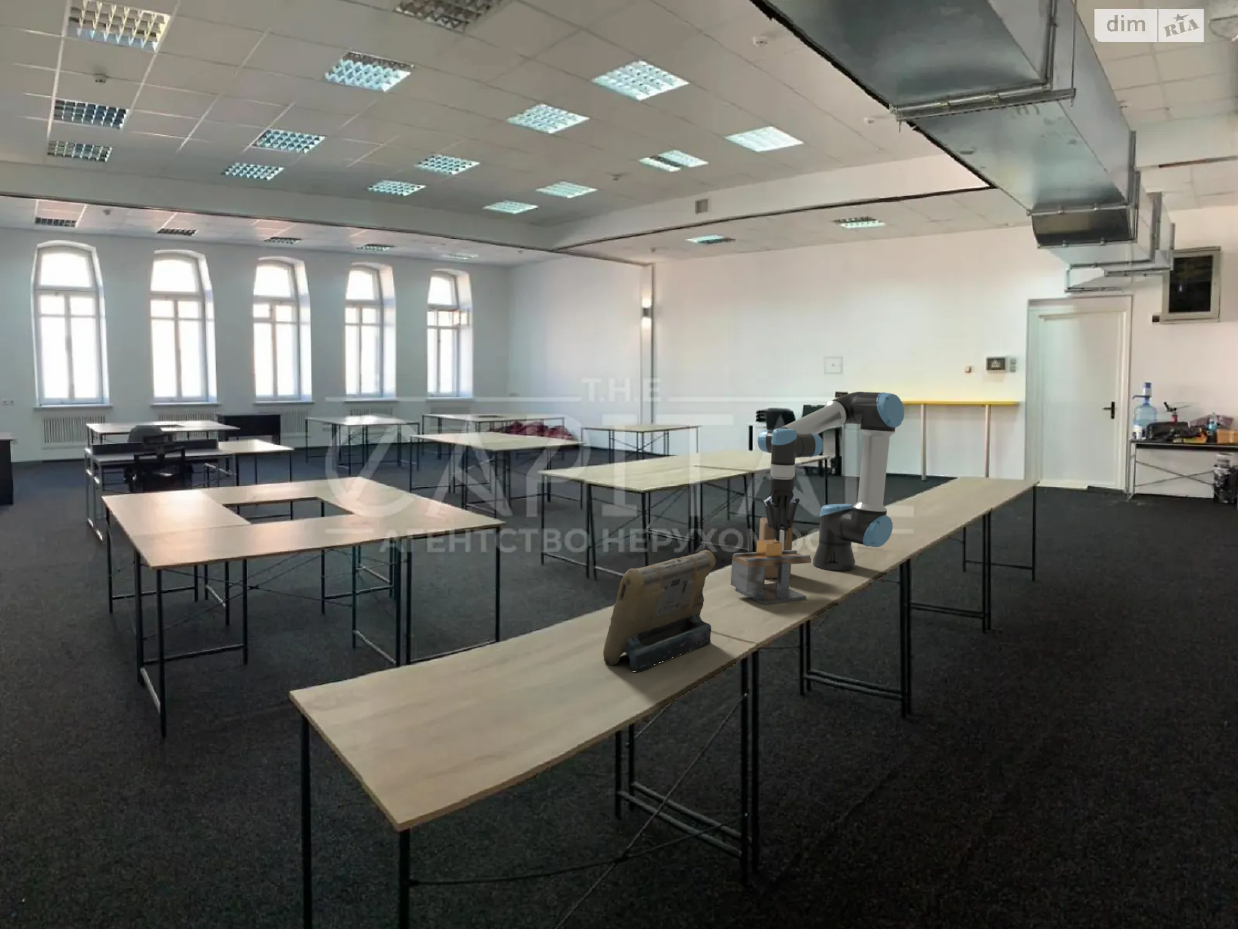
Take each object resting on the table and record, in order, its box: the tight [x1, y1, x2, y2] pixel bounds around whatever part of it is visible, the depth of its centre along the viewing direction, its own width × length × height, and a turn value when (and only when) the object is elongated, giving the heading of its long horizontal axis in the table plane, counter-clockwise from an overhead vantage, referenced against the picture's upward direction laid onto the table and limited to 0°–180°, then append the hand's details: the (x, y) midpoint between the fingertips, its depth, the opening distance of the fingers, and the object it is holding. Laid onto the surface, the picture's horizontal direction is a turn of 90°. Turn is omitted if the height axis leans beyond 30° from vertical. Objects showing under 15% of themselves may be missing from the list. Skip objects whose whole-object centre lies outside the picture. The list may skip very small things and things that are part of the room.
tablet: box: [602, 549, 717, 672], centre depth 192 cm, size 33×14×25 cm, turn 141°
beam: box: [730, 549, 812, 592], centre depth 243 cm, size 24×9×10 cm, turn 114°
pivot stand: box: [735, 562, 807, 606], centre depth 243 cm, size 16×16×12 cm
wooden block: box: [758, 516, 794, 579], centre depth 266 cm, size 10×10×20 cm
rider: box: [755, 539, 783, 558], centre depth 241 cm, size 6×5×5 cm
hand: (779, 550), depth 243 cm, fingers closed
